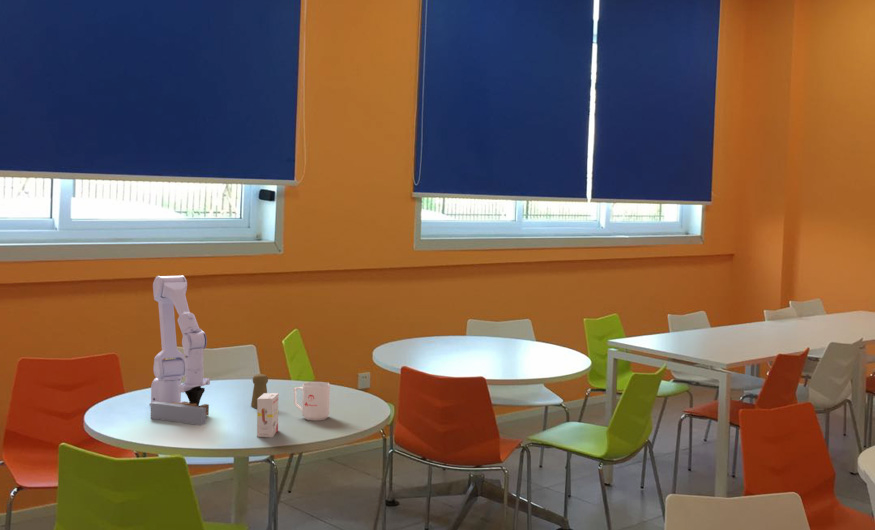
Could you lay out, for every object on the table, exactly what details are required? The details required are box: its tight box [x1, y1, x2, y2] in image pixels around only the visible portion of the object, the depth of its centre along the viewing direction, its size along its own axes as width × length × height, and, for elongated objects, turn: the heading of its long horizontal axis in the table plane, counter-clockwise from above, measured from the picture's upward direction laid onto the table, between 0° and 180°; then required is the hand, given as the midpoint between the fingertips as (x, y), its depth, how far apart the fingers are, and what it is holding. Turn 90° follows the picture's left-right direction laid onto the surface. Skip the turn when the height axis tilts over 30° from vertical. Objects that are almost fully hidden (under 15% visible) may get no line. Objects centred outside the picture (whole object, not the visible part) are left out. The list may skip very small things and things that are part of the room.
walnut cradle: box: [172, 400, 210, 417], centre depth 290 cm, size 10×8×4 cm
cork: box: [250, 373, 269, 409], centre depth 308 cm, size 6×6×11 cm
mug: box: [293, 381, 331, 422], centre depth 294 cm, size 12×9×11 cm
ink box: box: [256, 392, 279, 438], centre depth 273 cm, size 9×5×12 cm, turn 177°
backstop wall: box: [150, 401, 207, 426], centre depth 285 cm, size 19×2×5 cm, turn 70°
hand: (194, 410), depth 292 cm, fingers closed, pressing on oak dowel
